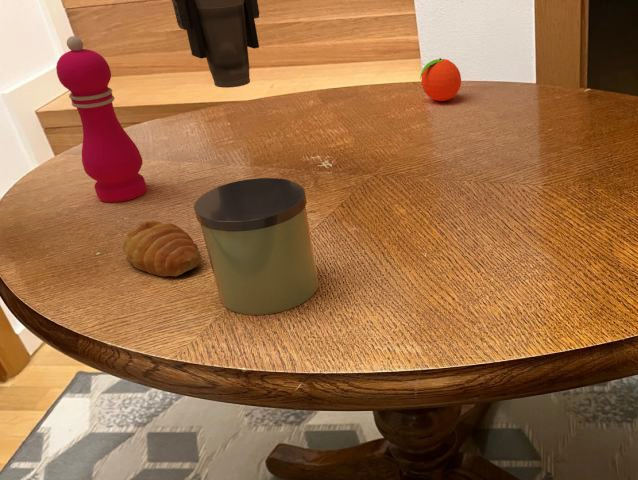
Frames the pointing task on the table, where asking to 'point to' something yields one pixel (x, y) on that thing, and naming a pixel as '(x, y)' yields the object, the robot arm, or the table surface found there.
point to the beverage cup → (225, 41)
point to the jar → (259, 244)
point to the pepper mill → (100, 125)
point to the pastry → (161, 249)
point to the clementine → (441, 79)
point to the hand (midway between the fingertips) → (226, 51)
